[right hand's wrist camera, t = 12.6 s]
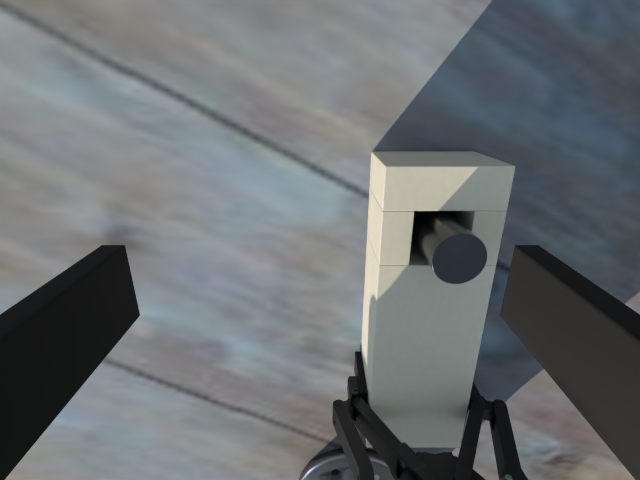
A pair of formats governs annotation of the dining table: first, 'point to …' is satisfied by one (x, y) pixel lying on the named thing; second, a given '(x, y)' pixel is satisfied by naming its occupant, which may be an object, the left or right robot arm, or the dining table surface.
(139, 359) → the dining table surface
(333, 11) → the dining table surface
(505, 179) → the peg block
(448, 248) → the peg
